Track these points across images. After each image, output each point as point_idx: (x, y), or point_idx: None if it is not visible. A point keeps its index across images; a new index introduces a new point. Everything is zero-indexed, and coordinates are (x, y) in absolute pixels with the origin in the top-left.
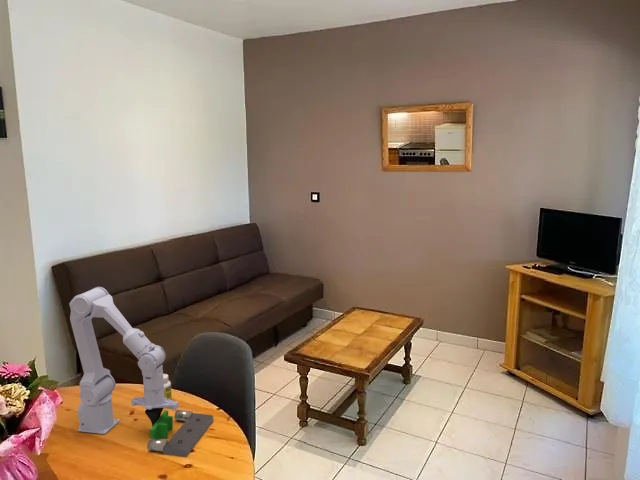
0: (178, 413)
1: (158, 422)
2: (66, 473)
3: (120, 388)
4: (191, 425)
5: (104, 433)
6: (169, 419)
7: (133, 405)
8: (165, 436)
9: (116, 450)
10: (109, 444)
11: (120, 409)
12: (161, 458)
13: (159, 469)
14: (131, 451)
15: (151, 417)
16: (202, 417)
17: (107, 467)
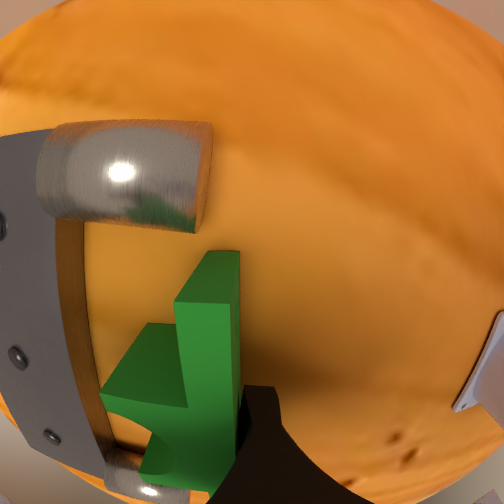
0: (166, 492)
1: (204, 435)
2: (499, 44)
3: (431, 490)
4: (42, 402)
5: (501, 313)
6: (158, 461)
7: (484, 499)
8: (148, 332)
9: (439, 169)
10: (479, 234)
11: (442, 449)
12: (93, 90)
13: (88, 13)
14: (350, 149)
15: (284, 478)
16: (51, 446)
17: (400, 19)
